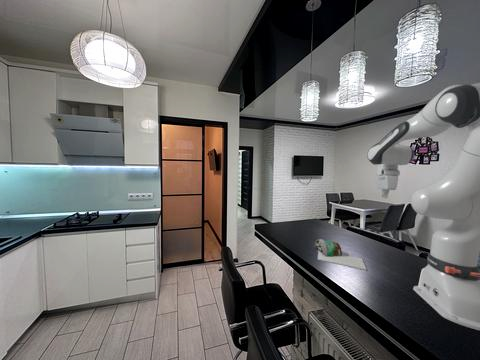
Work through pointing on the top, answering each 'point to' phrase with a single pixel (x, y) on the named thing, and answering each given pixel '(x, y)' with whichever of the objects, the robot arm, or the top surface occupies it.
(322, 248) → the food container
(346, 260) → the rubber mat
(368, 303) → the top surface
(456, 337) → the top surface
